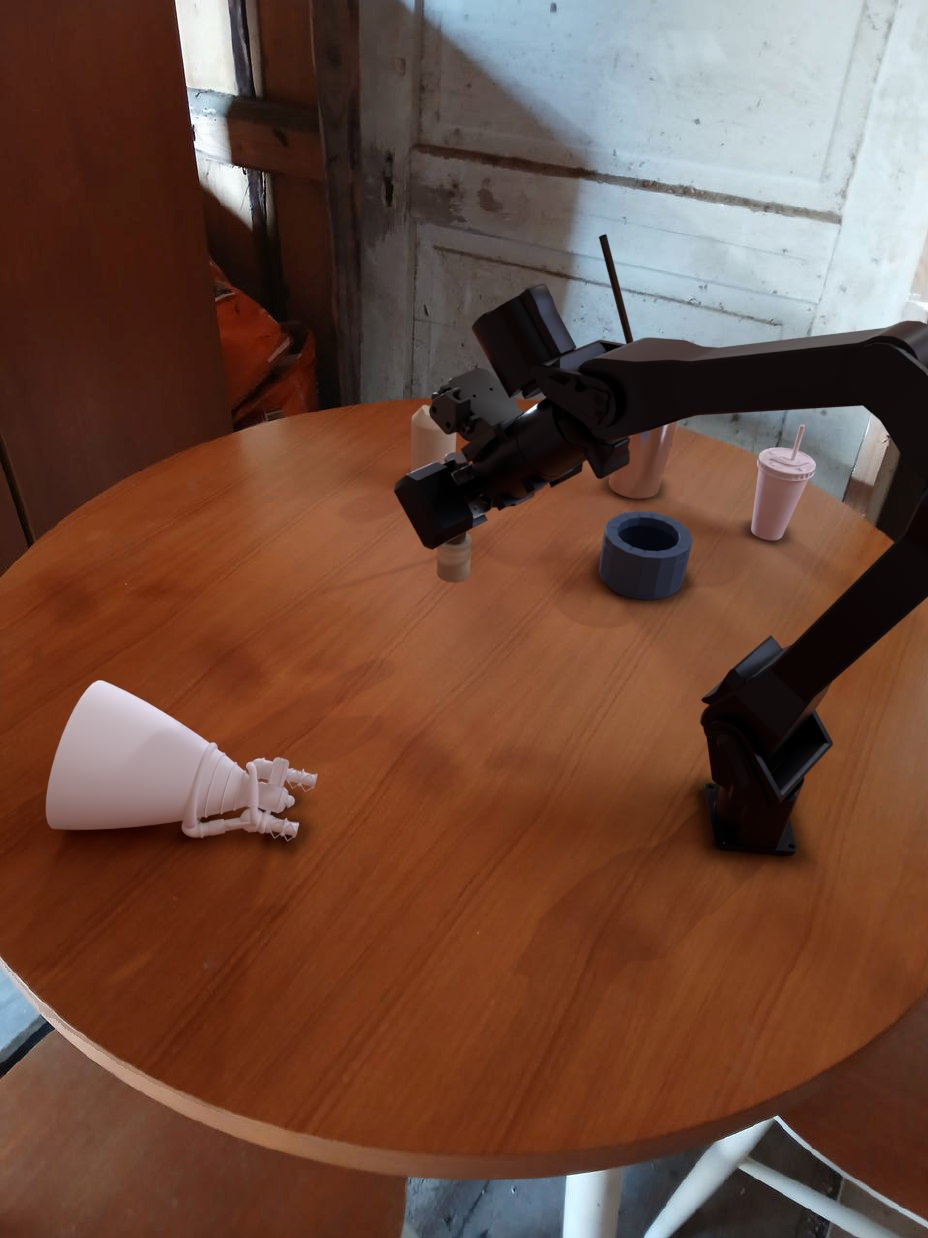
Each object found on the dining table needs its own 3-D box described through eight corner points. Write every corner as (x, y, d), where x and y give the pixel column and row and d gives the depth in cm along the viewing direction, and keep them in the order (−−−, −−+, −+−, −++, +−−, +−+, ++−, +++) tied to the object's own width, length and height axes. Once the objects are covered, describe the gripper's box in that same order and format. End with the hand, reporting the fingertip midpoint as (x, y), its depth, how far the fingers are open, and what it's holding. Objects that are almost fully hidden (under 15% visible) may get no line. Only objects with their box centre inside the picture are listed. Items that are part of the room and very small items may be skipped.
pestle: (459, 586, 86) (463, 469, 78) (430, 575, 87) (431, 459, 79) (475, 570, 88) (481, 455, 80) (447, 560, 89) (450, 445, 82)
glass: (569, 474, 118) (597, 233, 100) (641, 459, 122) (681, 224, 103) (613, 514, 110) (653, 262, 92) (689, 497, 114) (741, 251, 96)
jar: (687, 603, 97) (697, 560, 93) (601, 596, 97) (607, 554, 94) (677, 555, 104) (686, 514, 101) (597, 549, 104) (603, 508, 101)
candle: (405, 486, 114) (405, 413, 108) (419, 466, 118) (420, 395, 112) (447, 494, 113) (449, 420, 107) (460, 474, 117) (462, 402, 111)
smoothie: (796, 550, 106) (830, 441, 97) (740, 542, 106) (769, 434, 98) (792, 521, 111) (824, 416, 102) (738, 514, 111) (766, 409, 103)
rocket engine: (327, 731, 66) (81, 672, 65) (285, 890, 64) (29, 833, 62) (328, 737, 78) (119, 687, 76) (293, 873, 75) (76, 824, 74)
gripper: (572, 324, 76) (473, 404, 89) (409, 384, 66) (323, 464, 78) (633, 441, 77) (527, 503, 90) (482, 519, 66) (385, 577, 79)
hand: (445, 509), depth 84 cm, fingers closed on pestle, 2 cm apart
